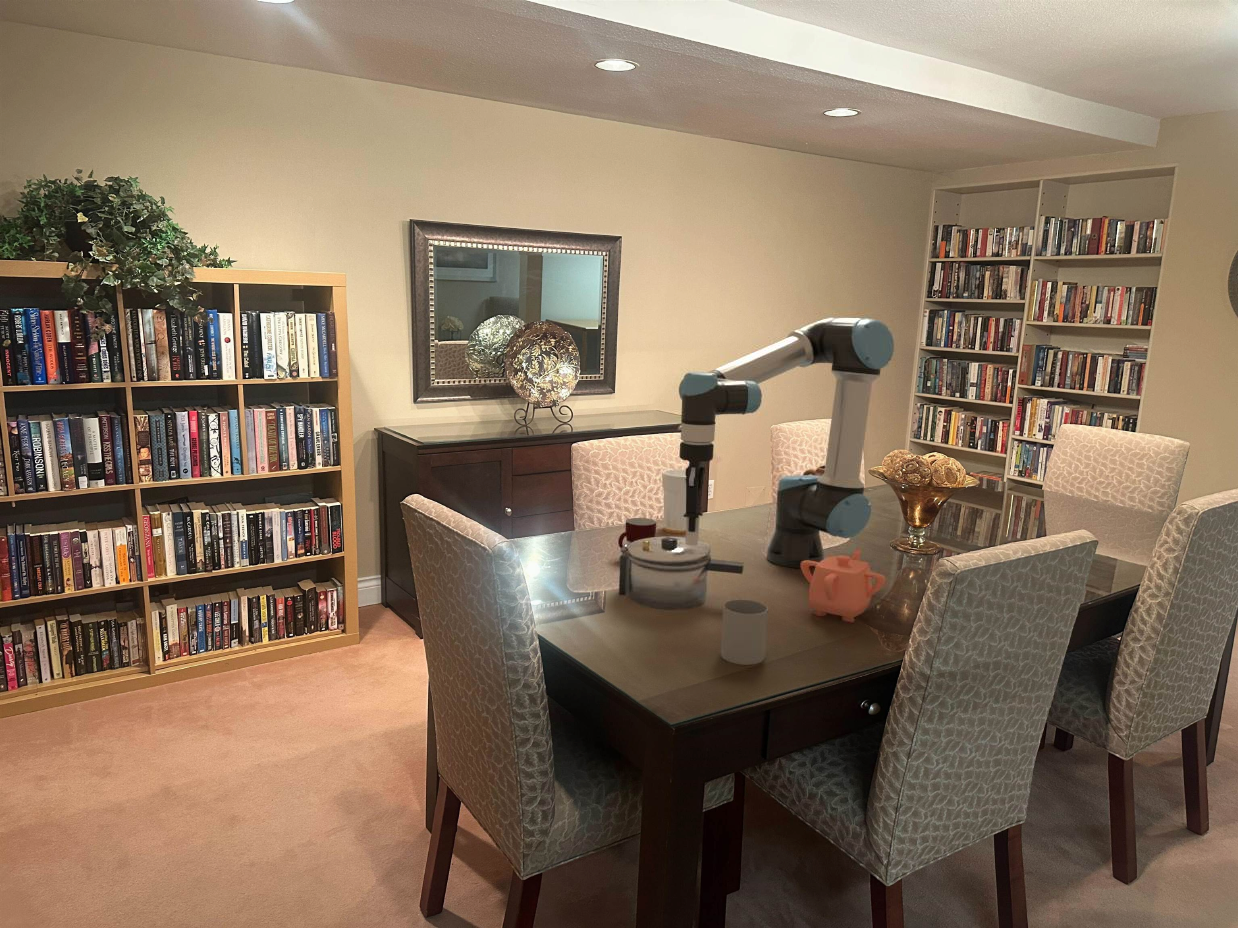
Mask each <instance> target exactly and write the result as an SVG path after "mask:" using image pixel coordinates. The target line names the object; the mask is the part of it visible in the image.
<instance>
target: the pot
mask: <svg viewBox="0 0 1238 928" xmlns="http://www.w3.org/2000/svg"><path fill="white" fill-rule="evenodd" d="M711 556H712V555H711V554H710V555H709V556H708V557H706V558H703V559H700V560H697V561H692V562H684V563H657V562H649V561H644V560H640V559H637V558H634V557H632V556H631V555H629V554H628V551H625V552H624V553H622V552H621V554H620V555H619V578H618V579H619V580H618V581H619V582H618V585H619V586H618V595H621V596H626V594H627V593H628V598H629V599H630V600H631V601H632V602H634V603H636V604H638V605H640V606H644V607H648V608H652V609H659V610H674V611H675V610H687V609H688V610H689V609H693V608H696V607H698V606H701V605H703V604H704V603H705V602H706V601H707V592H708V591H707V588H708V587H707V585H708V573H709V571H710V572H720V573H730V574H737V575H738V574H740V575H742V574H743V572H744V565H745V563H744V561H735V560H725V559H713V558H712V557H711Z"/></svg>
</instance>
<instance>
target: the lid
mask: <svg viewBox="0 0 1238 928" xmlns="http://www.w3.org/2000/svg"><path fill="white" fill-rule="evenodd" d="M685 541H686V536H685V537H683V536H655V537H652V538H645V539H640V540H637V541H634V542H632V543H631V542H630V541H627V540H626V541H625V543H624V545H623V547H622V548H620V552H621V554H622V553H624V552H625V551H626V550H627V549H628V554H629V555H631V556H632V557H634V558H637V559H640V560H644V561H649V562H657V563H684V562H692V561H697V560H700V559H703V558H706V557H708V556H709V555H711V553H712V548H711V547H712V546H711V545H710V544H709V543H707V542H706V541H703V540H700V539H698V545H697V546H694V545H685Z"/></svg>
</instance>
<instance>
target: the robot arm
mask: <svg viewBox="0 0 1238 928" xmlns="http://www.w3.org/2000/svg"><path fill="white" fill-rule="evenodd" d="M894 352H895V341H894V336H893V334H892V331H891V330H889V327H888V326H887V325H886V324H885V323H884V322H882V321H881V320H877V319H872V318H867V317H865V318H863V317H862V318H861V317H860V318H858V317H856V318H855V317H854V318H853V317H835V316H833V317H828V318H825V319H820V320H818V321H815V322H812V323H810V324H807V325H804V326H803V327H800V328H798V329H795V330H793V331H791V332H790V333H789V334H788V335H787V337H786V338H785V339H782V340H780V341H778V342H776V343H774V344H773V343H772V344H770V345H768V346H766V347H765V348H761V349H759V350H757V351H755V352H752V353H750V354H748V355H746V356H743V357H741V358H738V359H737V360H734V361H732V362H728V363H727V364H724V365H723V366H722V365H721V366H719V367H717V368H716V369H713V370H710V371H708V372H704V371H700V372H699V371H690V372H686V373H685V374H684V376H683V379H682V380H681V381H680V383H679V386H678V394H679V398H680V400H681V413H680V414H681V420H680V421H681V423H680V425H679V426H678V427H677V430H678V431H681V432H680V440H681V442H680V444H679V454H678V457H679V458H680V459H681V460H682V461H687V462H689V463H688V465H687V467H686V468H685V470H686V479H685V481H686V513H685V514H684V515H683V516H684V517H687V521H686V533H685V538H686V541H685V545H694V546H697V545H698V540H699V535H700V532H699V531H700V517H701V516H702V517H703V515H704V512H703V511H702V497H703V496H702V495H703V486H704V479H705V478H704V477H705V474H706V467H705V466H704V465H703V464H704V463H705V462H711V461H712V460H713V458H714V447H715V446H714V444H713V442H714V441H715V434H716V418H717V417H716V416H719V415H743V416H744V415H746V414H753V413H755V412H757V411H758V410H759V408H760V407H761V404H762V397H763V395H762V390H761V387H760V385H759V384H761V383H763V382H766V381H767V380H770V379H772V378H775V377H777V376H779V375H782V374H784V373H786V372H788V371H790V370H793V369H795V368H797V367H800V368H806V367H809V366H811V365H814V364H815V365H816V364H832V365H831V374H832V375H833V376H834V377H835V379H836V380H835V381H836V383H835V390H834V395H833V405H832V412H831V419H830V425H829V434H828V442H827V451H826V458H825V464H824V465H825V472H824V474H823V475H822V476H815V475H803V474H799V475H787V476H783V477H781V478H780V479H779V481H778V487H777V490H776V510H775V512H776V513H775V529H774V532H773V535H772V538H771V540H770V542H769V545H768V547H767V551H766V559H767V560H768V561H769V562H771V563H773V564H776V565H779V566H783V567H788V568H797V569H798V568H799V569H801V566H800V565H801V562H802V561H805V560H809V561H815V562H820V561H822V560H823V559H825V551H824V548H823V543H822V540H821V536H820V532H823V533H826V534H828V535H830V536H832V537H838V538H842V539H850V538H851V539H852V538H854V537H855V536H858V535H859V534H860V533H861V532H862V530H865V528H866V527H867V525H868V523H869V521H870V518H871V514H872V504H871V502H870V500H869V498H868V497H866V495H865V494H864V493H865V492H864V491H865V484H864V483H863V482H862V480H861V479H860V474H861V466H862V459H863V451H864V446H865V437H866V431H867V422H868V418H869V417H868V416H869V409H870V408H869V407H870V401H871V393H872V387H873V383H874V381H876V380H877V379H878V378H879V377H880V376H881V369H883V368H884V367H886V366H887V365H889V362H890V361H891V360H892V358H893V356H894ZM701 511H702V512H701ZM812 568H816V567H815V566H809V569H812Z"/></svg>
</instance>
